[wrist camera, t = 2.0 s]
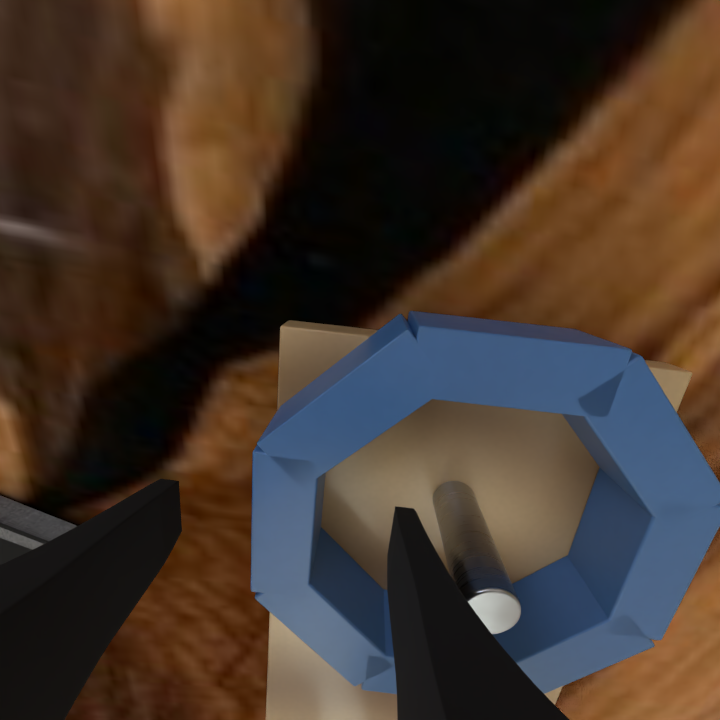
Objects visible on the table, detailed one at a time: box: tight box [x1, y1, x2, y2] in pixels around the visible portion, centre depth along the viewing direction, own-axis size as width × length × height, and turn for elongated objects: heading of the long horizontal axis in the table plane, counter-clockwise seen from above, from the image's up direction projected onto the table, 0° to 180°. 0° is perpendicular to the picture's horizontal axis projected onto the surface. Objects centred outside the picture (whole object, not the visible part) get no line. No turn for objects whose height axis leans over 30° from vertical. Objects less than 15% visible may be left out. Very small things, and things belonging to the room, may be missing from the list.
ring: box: [251, 311, 720, 694], centre depth 12 cm, size 14×14×3 cm
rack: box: [266, 320, 692, 720], centre depth 13 cm, size 22×14×6 cm, turn 174°
